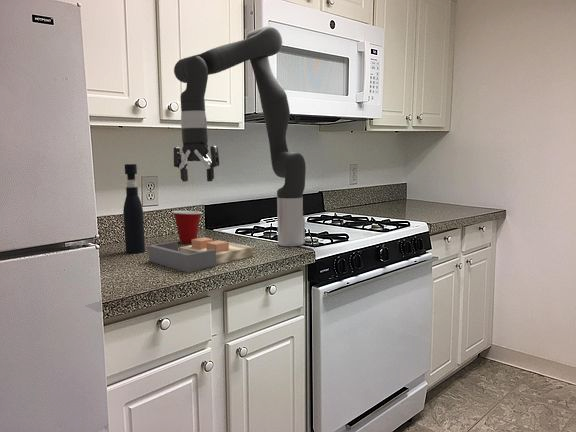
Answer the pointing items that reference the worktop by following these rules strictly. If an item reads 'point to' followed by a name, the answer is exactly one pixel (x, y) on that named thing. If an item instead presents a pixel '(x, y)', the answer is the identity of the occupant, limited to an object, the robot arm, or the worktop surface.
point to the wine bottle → (133, 214)
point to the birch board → (224, 252)
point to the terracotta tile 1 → (200, 242)
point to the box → (181, 257)
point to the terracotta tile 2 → (217, 245)
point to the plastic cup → (187, 225)
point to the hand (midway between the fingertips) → (197, 181)
